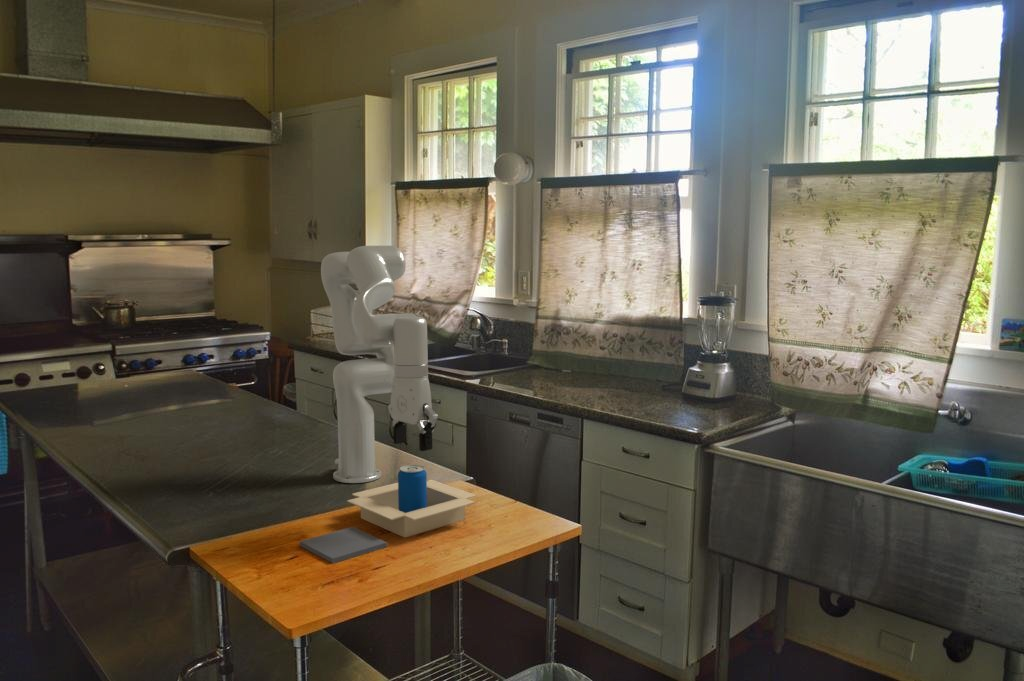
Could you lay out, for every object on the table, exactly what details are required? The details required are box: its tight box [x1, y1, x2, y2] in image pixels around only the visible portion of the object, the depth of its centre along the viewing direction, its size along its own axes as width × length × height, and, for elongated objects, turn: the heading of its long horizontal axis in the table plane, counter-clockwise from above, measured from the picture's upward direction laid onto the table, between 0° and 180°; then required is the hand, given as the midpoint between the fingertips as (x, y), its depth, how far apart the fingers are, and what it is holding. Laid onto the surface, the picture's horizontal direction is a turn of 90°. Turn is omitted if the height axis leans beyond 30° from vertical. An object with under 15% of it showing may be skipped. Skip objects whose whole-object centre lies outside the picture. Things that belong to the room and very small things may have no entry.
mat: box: [299, 526, 388, 564], centre depth 180 cm, size 13×13×1 cm
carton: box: [346, 479, 478, 538], centre depth 197 cm, size 24×24×5 cm
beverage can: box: [397, 464, 428, 513], centre depth 197 cm, size 6×6×12 cm
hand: (412, 446), depth 195 cm, fingers open, 9 cm apart
